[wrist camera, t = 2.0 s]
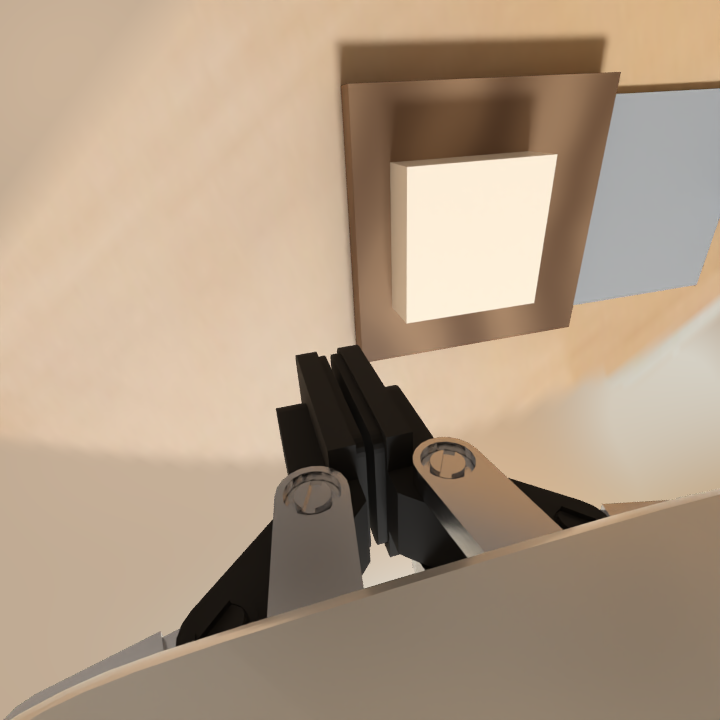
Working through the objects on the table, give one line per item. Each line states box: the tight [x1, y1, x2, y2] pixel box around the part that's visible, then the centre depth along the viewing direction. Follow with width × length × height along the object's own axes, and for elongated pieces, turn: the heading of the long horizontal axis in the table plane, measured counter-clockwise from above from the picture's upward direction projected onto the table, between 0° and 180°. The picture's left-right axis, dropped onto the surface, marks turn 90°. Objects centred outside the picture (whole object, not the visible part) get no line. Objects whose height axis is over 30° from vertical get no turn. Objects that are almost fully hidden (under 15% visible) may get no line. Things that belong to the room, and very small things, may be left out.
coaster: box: [390, 151, 557, 323], centre depth 24 cm, size 8×8×2 cm
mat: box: [573, 88, 720, 305], centre depth 29 cm, size 12×13×1 cm
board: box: [341, 72, 621, 362], centre depth 26 cm, size 15×15×2 cm
